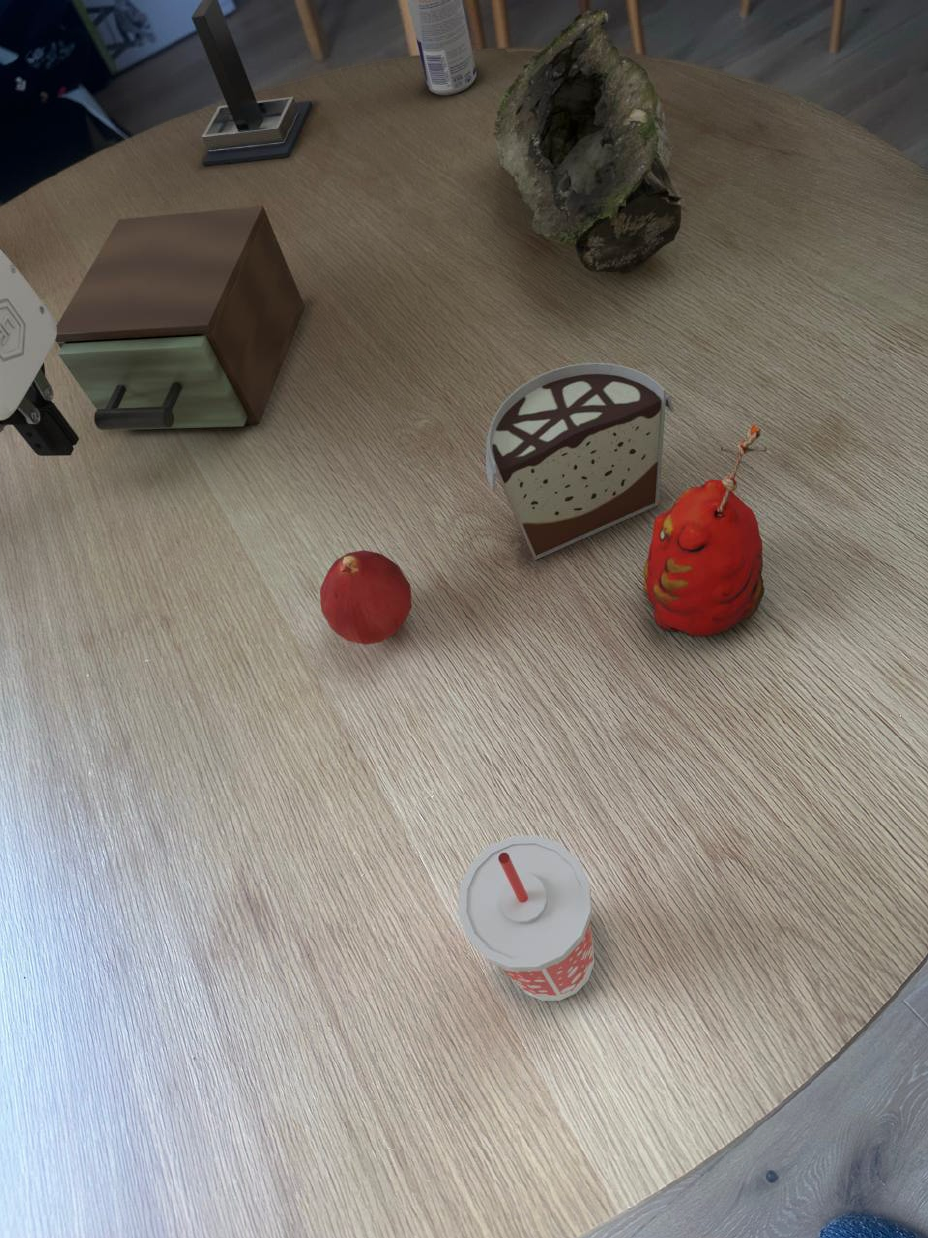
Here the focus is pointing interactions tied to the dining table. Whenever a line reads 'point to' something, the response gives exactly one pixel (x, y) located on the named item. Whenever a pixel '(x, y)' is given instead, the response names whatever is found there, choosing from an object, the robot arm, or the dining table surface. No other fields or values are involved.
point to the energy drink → (443, 44)
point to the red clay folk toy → (706, 557)
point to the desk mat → (263, 152)
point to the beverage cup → (530, 915)
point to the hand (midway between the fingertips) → (59, 447)
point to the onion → (365, 597)
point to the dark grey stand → (238, 93)
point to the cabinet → (195, 292)
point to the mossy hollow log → (591, 149)
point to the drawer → (154, 383)
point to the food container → (578, 451)
